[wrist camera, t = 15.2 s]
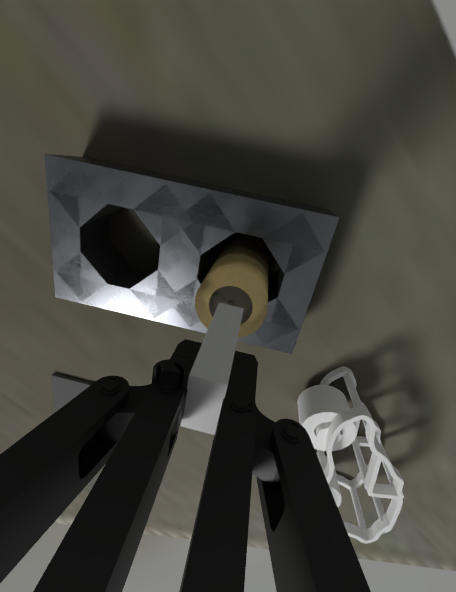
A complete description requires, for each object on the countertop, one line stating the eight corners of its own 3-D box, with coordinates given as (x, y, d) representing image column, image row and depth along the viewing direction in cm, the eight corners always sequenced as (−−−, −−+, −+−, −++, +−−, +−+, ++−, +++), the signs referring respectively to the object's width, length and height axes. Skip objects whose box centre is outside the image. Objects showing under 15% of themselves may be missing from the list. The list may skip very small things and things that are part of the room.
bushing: (216, 277, 30) (190, 329, 20) (225, 231, 28) (200, 264, 18) (262, 287, 30) (257, 345, 20) (274, 242, 28) (275, 281, 18)
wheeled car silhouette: (298, 362, 33) (305, 410, 27) (398, 369, 32) (432, 421, 25) (288, 474, 41) (291, 533, 35) (367, 484, 40) (387, 546, 33)
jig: (85, 279, 33) (54, 297, 28) (82, 157, 27) (43, 154, 23) (288, 327, 32) (292, 354, 27) (327, 209, 26) (339, 217, 22)
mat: (60, 440, 45) (58, 443, 45) (54, 373, 40) (51, 375, 39) (143, 462, 45) (142, 466, 44) (150, 397, 39) (148, 400, 38)
